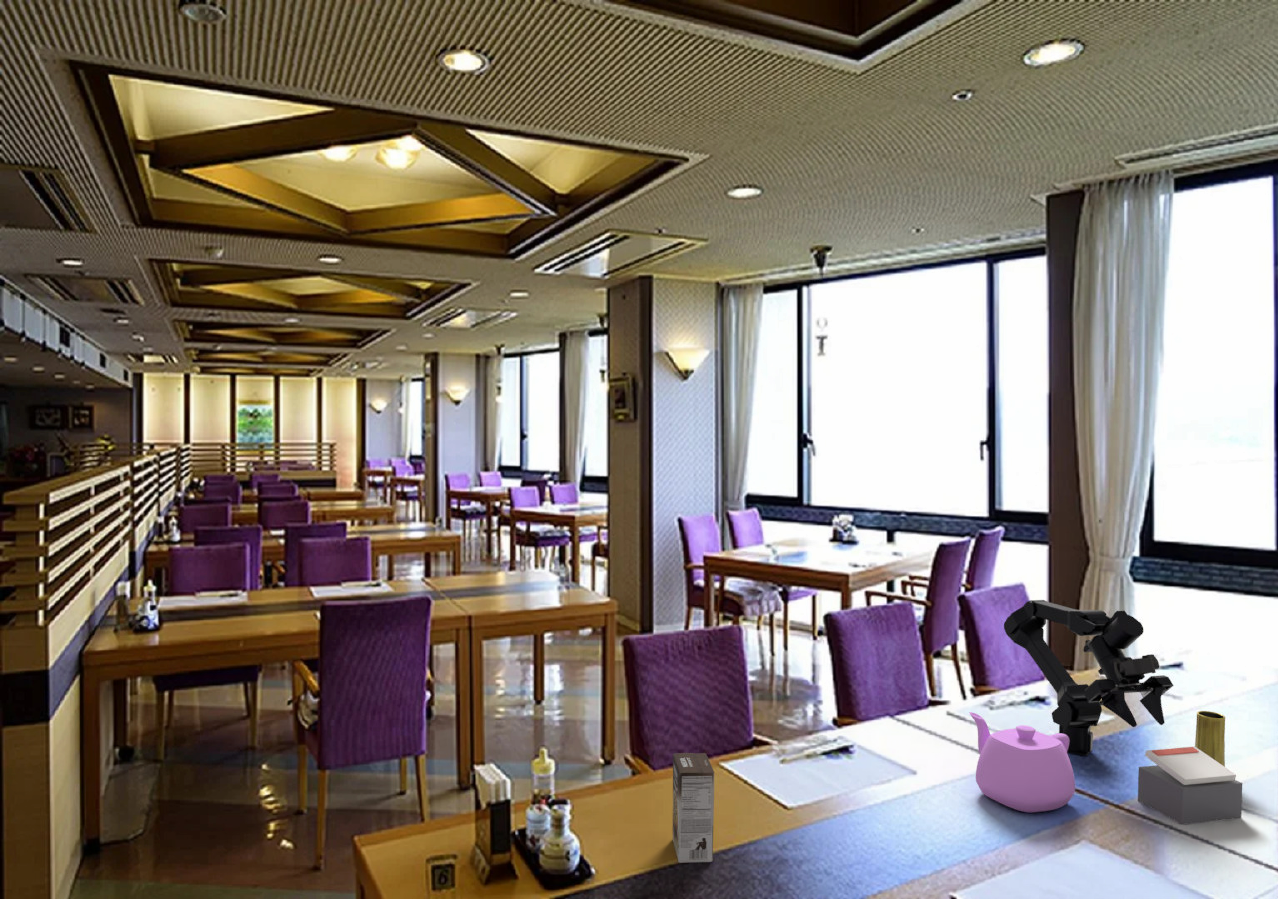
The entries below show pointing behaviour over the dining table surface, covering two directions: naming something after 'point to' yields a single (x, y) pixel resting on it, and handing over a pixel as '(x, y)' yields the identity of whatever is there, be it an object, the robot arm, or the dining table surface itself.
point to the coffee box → (693, 807)
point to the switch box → (1189, 797)
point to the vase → (1211, 735)
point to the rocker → (1190, 765)
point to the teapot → (1024, 767)
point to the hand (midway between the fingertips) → (1149, 725)
